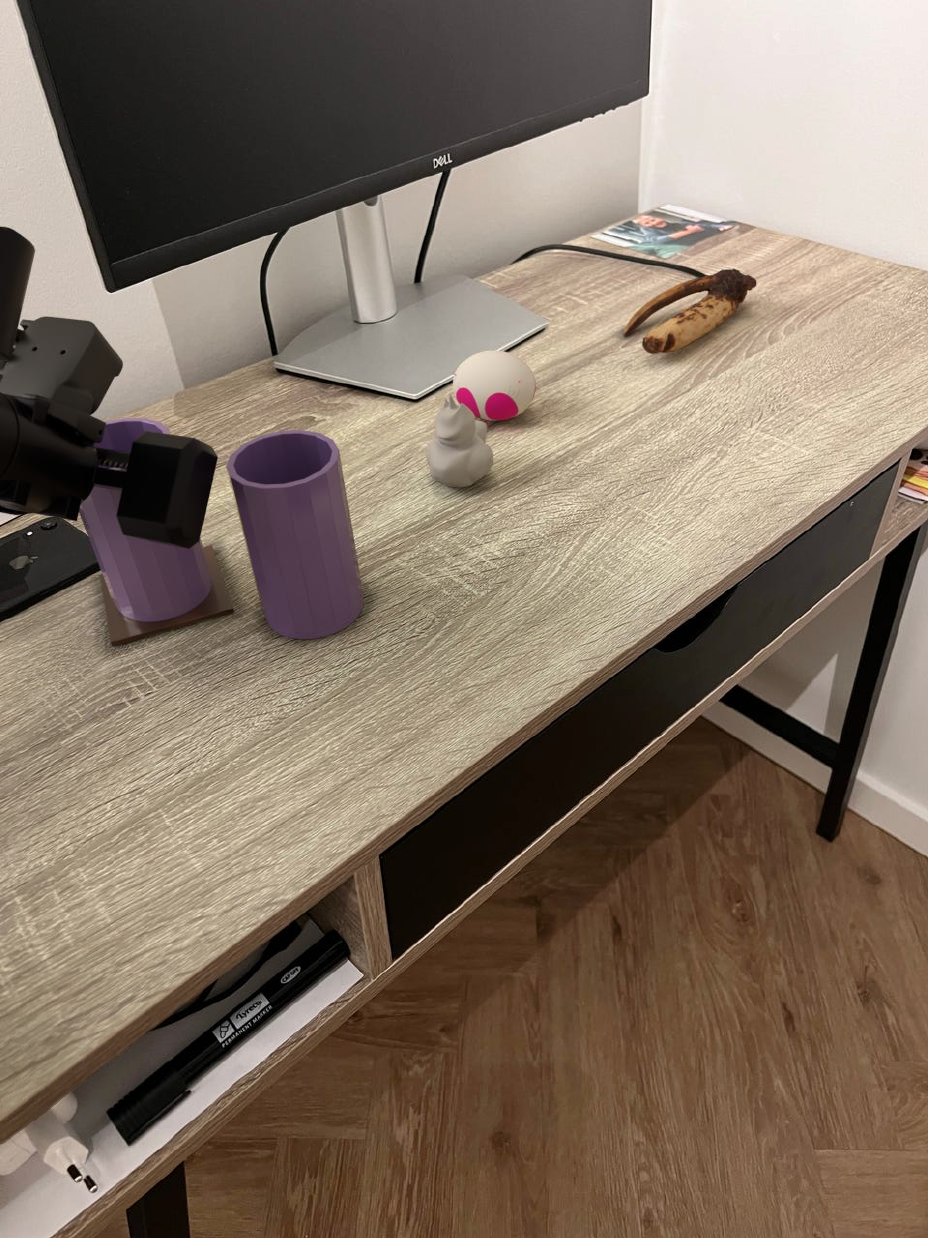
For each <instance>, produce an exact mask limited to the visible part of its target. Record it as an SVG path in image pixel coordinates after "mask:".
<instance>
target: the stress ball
mask: <svg viewBox="0 0 928 1238" xmlns="http://www.w3.org/2000/svg"><path fill="white" fill-rule="evenodd" d="M452 375H453V379H452V390H453V394H454V397H455V400H456V402H457V403H458V405H460V404H461V403H463V404H464V405H465V406H466V407H468V408H469V409H470V410H471V411H472V412H473V414H474V416H475V418H478V419H480V420H484V421H485V420H486V422H484V423H485V424H486V425H487V426H488V425H489V424H490V423H491V421H495V422H496V421H506V420H509V419H512V418H514V417H517V416H519V415H520V414H522V413H523V412H524V411H526V410H527V408H528V407H530V405H531V404H532V402H533V400H534V398H535V396H536V392H537V391H536V390H537V383H536V377H535V374H534V372H533V370H532V369H531V367H530V366H529V364H527V362H525V361H524V360H523V359H522V358H520V357H519V356H517V355H515V354H513V353H510V352H508V351H502V350H485V351H480V352H477V353H475V354H472V355H470V356H469V357H467V358H466V359H465V360H464V361H463V362H461V363H460V365H459V366H458V367H457V369H456V371H455V373H454V372H452Z"/></svg>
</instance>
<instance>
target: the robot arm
mask: <svg viewBox="0 0 928 1238" xmlns="http://www.w3.org/2000/svg"><path fill="white" fill-rule="evenodd" d="M35 253H36V248H35V246H34V244H33V243H32V242H31V241H30V240H29V239H28V238H26V237H25V236H24V235H22V234H21V233H19V232H18V231H16V230H15V229H13V228H11V227H7V226H0V513H1V514H7V515H12V516H24V515H30V514H35V515H41V516H46V517H51V518H57V519H62V520H67V521H73V522H78V518H79V515H80V513H79V510H80V506H81V504H82V503H83V501H85V500H86V499H87V498H88V496H89V495H90V493H91V492H92V490H93V488H94V486H95V487H101V488H107V489H113V490H119V491H122V492H121V497H120V501H119V506H118V510H117V515H116V517H117V520H118V523H119V525H120V528H121V531H122V534H123V535H126V536H130V537H133V538H137V539H141V540H146V541H150V542H155V543H160V544H165V545H171V546H176V547H181V548H186V549H190V548H191V547H193V546H194V545H195V544H196V543H198V542H199V541H200V537H201V536H202V531H203V527H204V522H205V519H206V513H207V509H208V503H209V500H210V496H211V491H212V486H213V482H214V477H215V474H216V473H215V472H216V468H217V463H218V459H219V456H218V454H217V453H216V451H215V449H214V448H213V446H211V445H210V444H207V443H206V442H204V441H201V440H199V439H198V438H196V437H190V436H189V437H188V436H183V435H178V434H177V435H176V434H171V433H170V434H164V433H157V432H150V431H145V432H144V433H143V434H142V435H140V436H139V437H138V438H137V439H136V440H134V441H133V444H132V448H131V453H130V452H124V451H117V450H111V449H104V448H98V447H94V444H95V443H101V442H102V439H103V435H104V430H105V426H106V421H103V420H102V419H99V418H98V417H95V416H93V414H95V413H96V412H97V411H98V410H99V408H100V406H101V404H102V402H103V400H104V398H105V397H106V395H107V393H108V392H109V389H110V388H111V386H112V385H113V382H114V380H115V378H117V377H119V376H120V375H121V372H122V370H123V367H124V361H123V359H122V358H121V357H120V356H119V354H118V353H117V351H116V350H115V349H114V348H113V347H112V345H111V344H110V342H109V341H108V340H107V339H106V337H105V336H104V335H103V334H102V332H101V331H100V330H99V329H98V327H97V325H96V324H95V323H94V322H93V321H90V320H86V319H85V320H84V319H75V318H66V317H58V316H46V315H45V316H40V317H38V318H36V319H33V320H32V319H25V318H24V319H21V315H22V311H23V307H24V303H25V298H26V294H27V289H28V285H29V280H30V276H31V272H32V267H33V262H34V257H35ZM20 320H21V321H20ZM19 326H21V328H22V329H20V328H19ZM99 465H100V466H102V465H103V466H106V467H107V466H109V467H112V468H113V467H115V468H121V469H126V472H125V471H119V470H113V469H107V468H101V467H99Z"/></svg>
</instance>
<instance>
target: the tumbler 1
mask: <svg viewBox="0 0 928 1238" xmlns="http://www.w3.org/2000/svg"><path fill="white" fill-rule="evenodd" d="M105 422H106V426H105V430H104V435H103V439H102V442H101V443H95V444H94V447H98V448H104V449H111V450H117V451H124V452H130V453H131V448H132V444H133V441H134V440H136V439H137V438H138V437H139V436H140V435H142V434H143V433H144V432H145V431H150V432H157V433H164V434H171V431H170V428H168V427H167V426H166V425H165V424H163V423H162V422H161V421H159V420H155V419H150V418H147V417H124V418H117V419H113V420H108V421H105ZM99 467H101V468H107V469H113V470H119V471H125V472H126V469H121V468H115V467H113V468H112V467H109V466H107V467H106V466H103V465H102V466H100V465H99ZM121 492H122V491H119V490H113V489H107V488H101V487H95V486H94V488H93V490H92V492H91V493H90V495H89V496H88V498H87V499H86V500H85V501H83V503H82V504H81V506H80V510H79V515H80V518H81V521H82V524H83V526H84V529H85V532H86V534H87V537H88V539H89V542H90V545H91V547H92V550H93V553H94V555H95V558H96V562H97V564H98V566H99V569H100V571H101V574H103V576H104V579H105V582H106V584H107V587H108V590H109V592H110V595H111V597H112V600H113V602H114V603H115V605H116V608H117V609H118V611H119V612H120V613H121V614H122V615H124V616H125V617H127V618H129V619H132V620H136V621H143V622H155V621H162V620H167V619H171V618H174V617H177V616H180V615H182V614H185V613H187V612H189V611H190V610H192V609H194V608H195V607H197V606H198V605H199V604H200V603H201V602H202V601H203V600H204V599H205V598H206V597H207V596H208V594H209V592H210V590H211V587H212V578H211V574H210V569H209V565H208V562H207V558H206V555H205V551H204V548H203V547H204V545H203V541H202V538H201V536H200V541H199V542H198V543H196V544H195V545H194V546H193V547H191V548H190V549H186V548H181V547H176V546H171V545H165V544H160V543H155V542H150V541H146V540H141V539H137V538H133V537H130V536H126V535H123V534H122V531H121V528H120V525H119V523H118V520H117V517H116V515H117V510H118V506H119V501H120V497H121Z"/></svg>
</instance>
